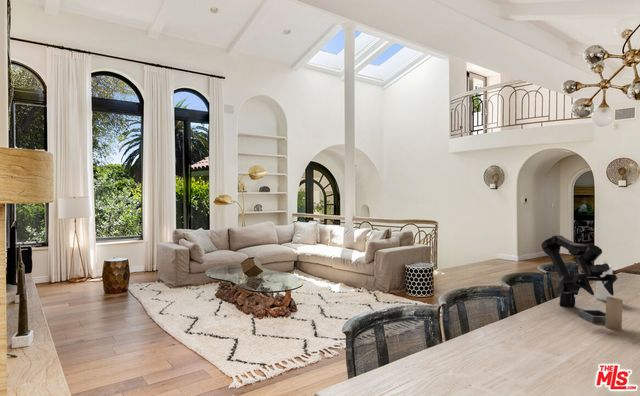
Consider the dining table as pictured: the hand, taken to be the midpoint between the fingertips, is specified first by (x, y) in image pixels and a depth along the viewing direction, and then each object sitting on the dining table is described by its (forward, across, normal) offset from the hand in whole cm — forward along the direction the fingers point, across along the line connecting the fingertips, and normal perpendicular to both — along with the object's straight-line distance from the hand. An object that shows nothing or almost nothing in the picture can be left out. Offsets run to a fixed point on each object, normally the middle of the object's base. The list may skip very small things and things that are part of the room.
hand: (603, 295), depth 189 cm
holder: (+6, 0, +12) cm, 13 cm away
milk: (-18, +30, +37) cm, 51 cm away
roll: (+14, 0, +4) cm, 15 cm away
